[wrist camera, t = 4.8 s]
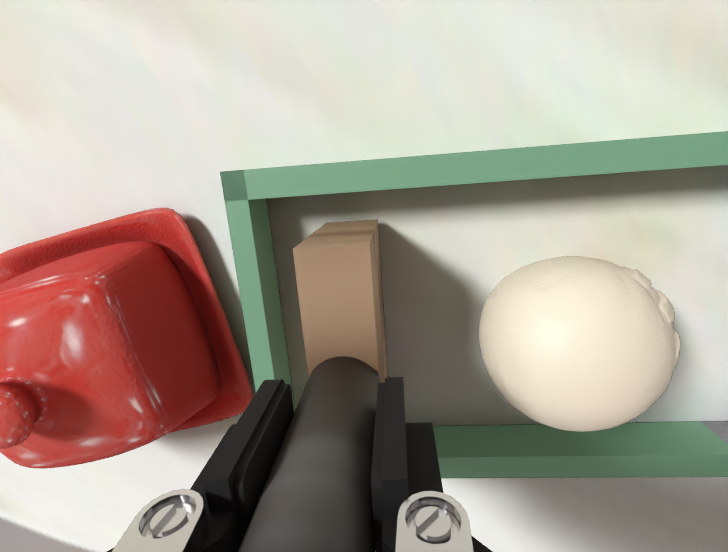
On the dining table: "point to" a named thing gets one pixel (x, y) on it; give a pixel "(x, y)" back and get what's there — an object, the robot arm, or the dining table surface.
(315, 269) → the striker
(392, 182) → the frame
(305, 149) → the dining table surface
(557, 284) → the cream round ball
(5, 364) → the butter dish
